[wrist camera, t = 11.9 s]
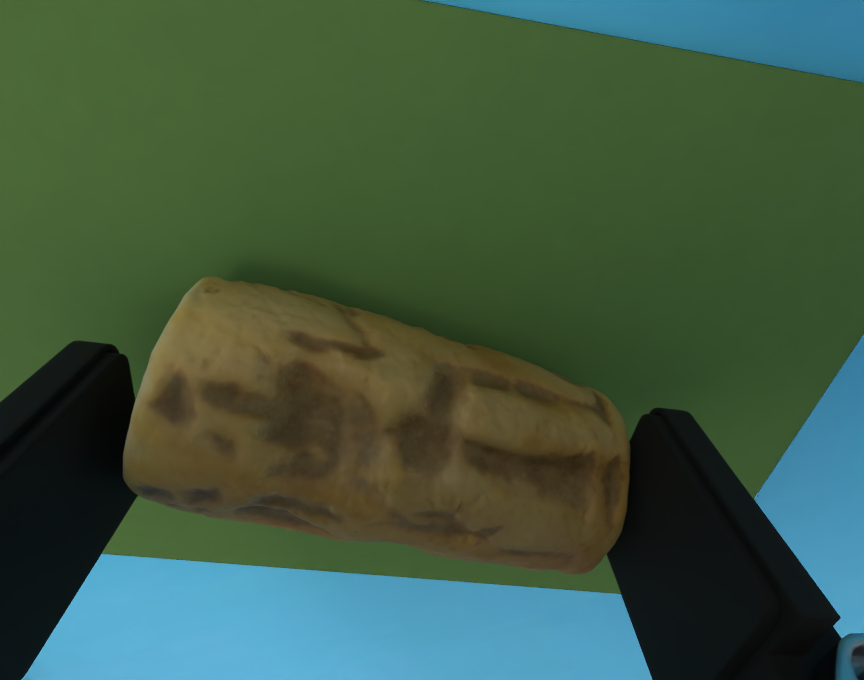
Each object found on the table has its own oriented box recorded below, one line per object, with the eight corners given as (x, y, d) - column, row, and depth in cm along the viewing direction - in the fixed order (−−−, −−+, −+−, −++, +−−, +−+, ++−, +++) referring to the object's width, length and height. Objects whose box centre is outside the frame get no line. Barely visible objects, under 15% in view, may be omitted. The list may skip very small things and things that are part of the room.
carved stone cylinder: (604, 360, 11) (688, 501, 8) (520, 491, 13) (556, 651, 10) (224, 230, 10) (110, 332, 6) (192, 399, 11) (90, 552, 8)
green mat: (985, 108, 9) (1014, 110, 9) (680, 585, 16) (687, 600, 16) (-248, -123, 7) (-289, -134, 7) (7, 531, 14) (-5, 546, 14)
